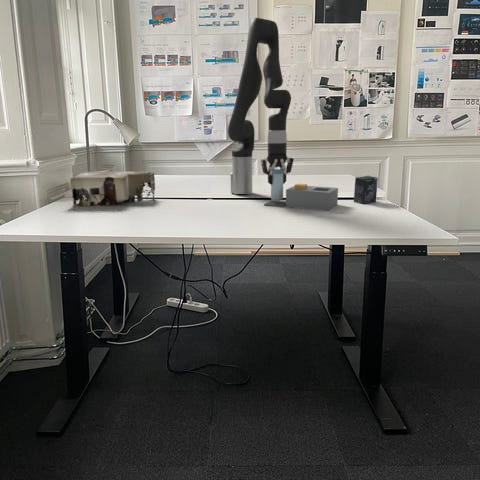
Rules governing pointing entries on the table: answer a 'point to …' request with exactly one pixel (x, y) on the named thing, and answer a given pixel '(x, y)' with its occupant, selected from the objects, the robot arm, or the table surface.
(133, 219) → the table surface
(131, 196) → the beige boxy piece
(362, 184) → the box
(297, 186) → the orange rectangular block
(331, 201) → the housing
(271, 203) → the mat
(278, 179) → the cartridge
